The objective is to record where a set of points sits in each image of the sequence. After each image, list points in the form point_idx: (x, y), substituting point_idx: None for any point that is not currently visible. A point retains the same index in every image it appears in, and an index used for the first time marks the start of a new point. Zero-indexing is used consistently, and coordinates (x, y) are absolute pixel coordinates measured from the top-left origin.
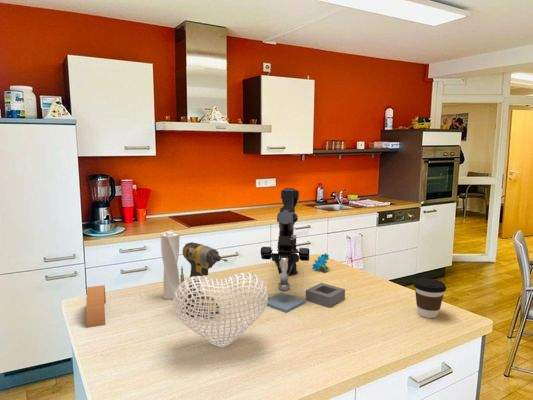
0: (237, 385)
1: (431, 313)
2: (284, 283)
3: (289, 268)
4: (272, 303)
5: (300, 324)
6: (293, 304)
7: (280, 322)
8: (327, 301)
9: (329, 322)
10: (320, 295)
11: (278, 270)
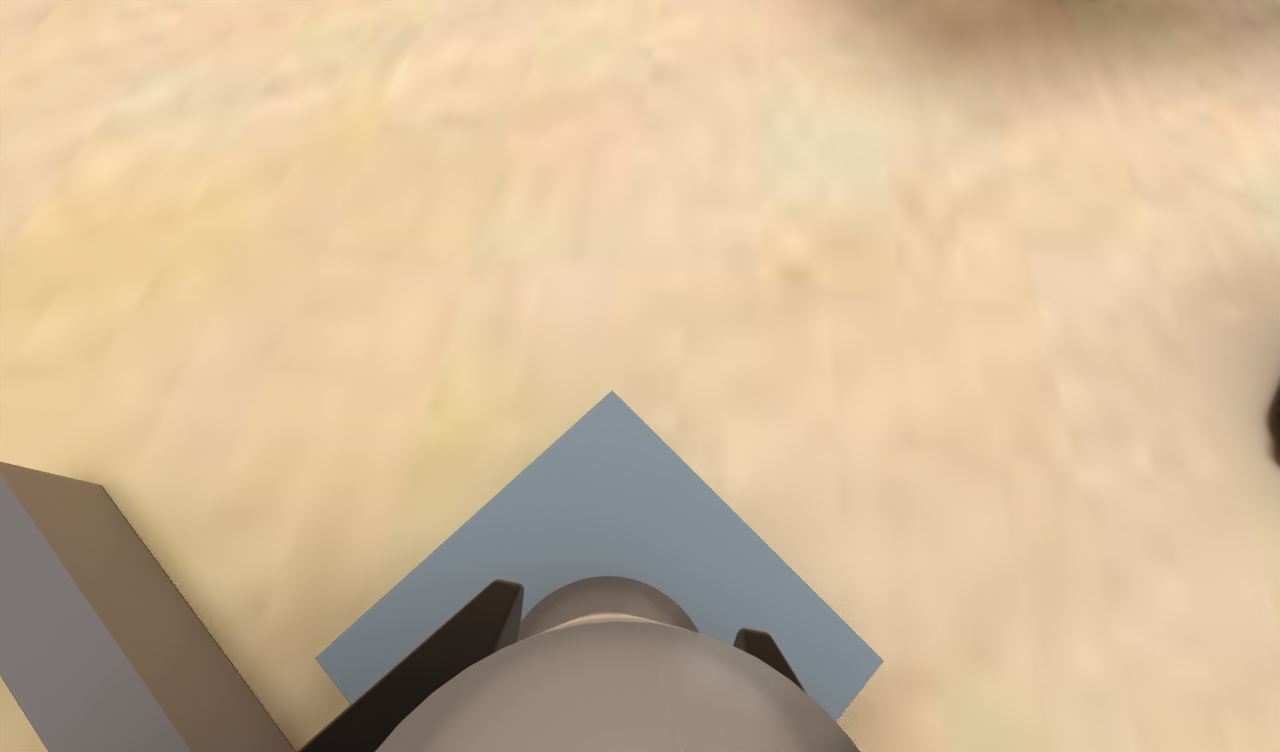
0: None
1: None
2: (609, 611)
3: (439, 659)
4: (752, 581)
5: (526, 181)
6: (506, 534)
7: (689, 226)
8: (65, 499)
9: (264, 189)
10: (81, 577)
11: (797, 680)
